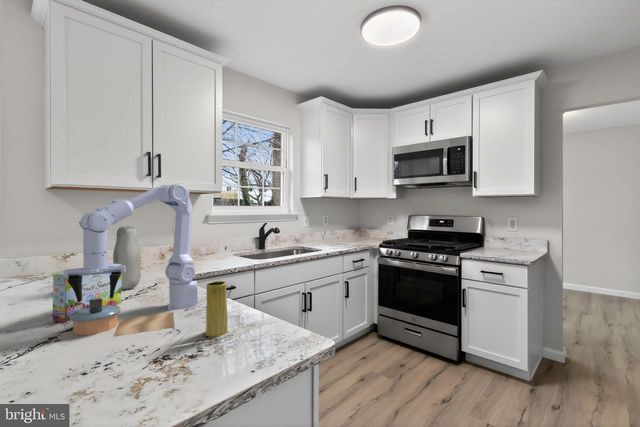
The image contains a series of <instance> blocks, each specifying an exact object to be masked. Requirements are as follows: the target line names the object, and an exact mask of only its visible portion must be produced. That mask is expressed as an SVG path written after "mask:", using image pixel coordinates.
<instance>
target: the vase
mask: <svg viewBox="0 0 640 427" xmlns="http://www.w3.org/2000/svg"><path fill="white" fill-rule="evenodd" d="M205 311H206V313H205V317H206V318H205V323H206V324H205V334H204V335H205V336H207V337H212V338H213V337H222V336H224V335H226V334H227V333H228V332H229V329H228V327H229V326H228V302H227V282H226V281H220V280H219V281H211V282H207V283H206V310H205Z"/></svg>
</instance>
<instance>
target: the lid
mask: <svg viewBox="0 0 640 427" xmlns="http://www.w3.org/2000/svg"><path fill="white" fill-rule="evenodd" d="M89 302H90V308H85V309H82V310H78V311H76V312H73V313H72V314H70V321H71V322H73V321H76V322H84V321H94V320H100V319H104V318H108V317H111V316H114V315H116V314H117V315H118V314H119V313H121V306H119V305H115V306H114V305H105V306H102V298H95V299H91V300H89Z"/></svg>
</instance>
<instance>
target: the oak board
mask: <svg viewBox="0 0 640 427" xmlns="http://www.w3.org/2000/svg"><path fill="white" fill-rule="evenodd" d="M174 314H175V313H174V312H173V311H172V312H164V313H159V314H149V315H141V316H134V317H127V318H120V320H119V322H118V324H117V326H116V330H115V332H114V334H113V337H118V336H119V337H121V336H125V335H133V334H139V333H146V332H152V331H157V330H166V329H171V328H175V316H174Z"/></svg>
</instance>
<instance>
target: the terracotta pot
mask: <svg viewBox="0 0 640 427" xmlns="http://www.w3.org/2000/svg"><path fill="white" fill-rule="evenodd" d="M72 322H73V325H72V326H73V328H72V329H73V330H72V331H73V334H74V335H77V336H78V335H79V336H90V335H96V334H97V335H98V334H101V333H104V332H108V331H110V330H113V329H114V328H115V329H116V328H117V326H118V314H116V315H114V316H111V317H108V318H104V319H100V320H94V321H84V322H76V321H72Z"/></svg>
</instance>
